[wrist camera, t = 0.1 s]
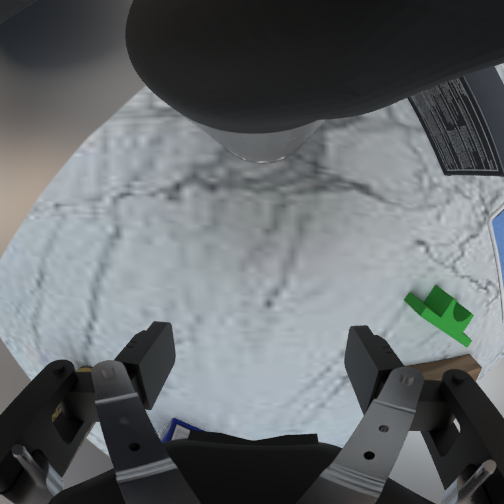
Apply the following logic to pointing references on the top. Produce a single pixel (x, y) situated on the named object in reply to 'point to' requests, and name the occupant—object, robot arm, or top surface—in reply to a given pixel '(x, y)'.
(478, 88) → the small box
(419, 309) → the pipe clamp
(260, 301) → the top surface
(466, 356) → the block
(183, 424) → the milk carton
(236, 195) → the top surface
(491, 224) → the tablet computer
